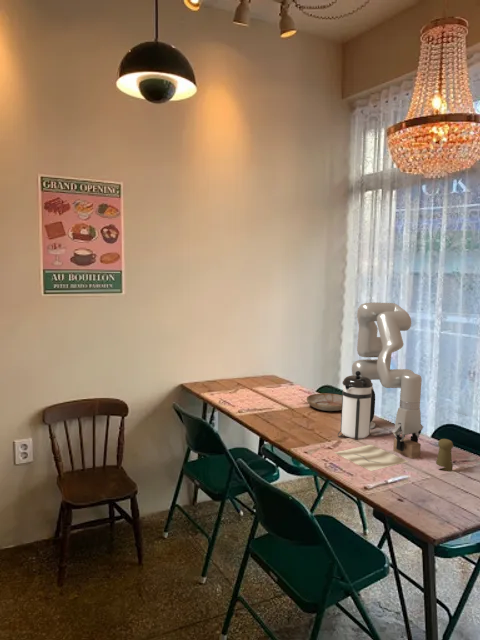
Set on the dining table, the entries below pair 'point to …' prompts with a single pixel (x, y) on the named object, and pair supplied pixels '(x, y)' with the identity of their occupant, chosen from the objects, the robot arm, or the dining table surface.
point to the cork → (445, 455)
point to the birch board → (371, 457)
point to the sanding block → (408, 448)
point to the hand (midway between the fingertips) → (406, 448)
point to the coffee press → (357, 406)
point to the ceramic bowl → (326, 401)
